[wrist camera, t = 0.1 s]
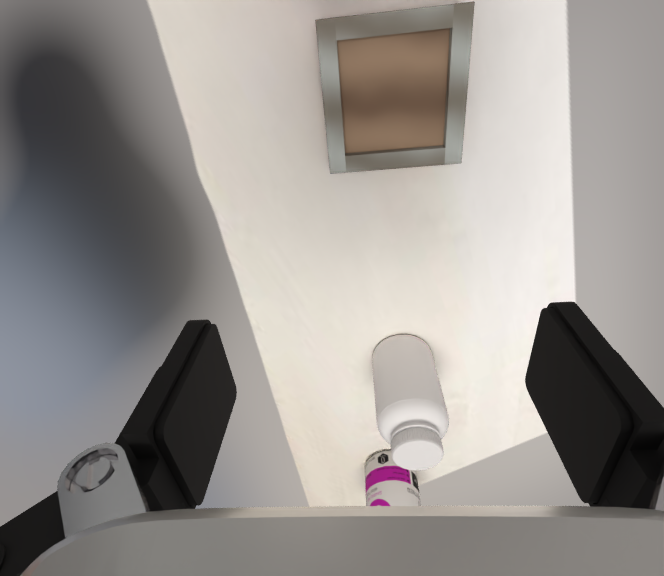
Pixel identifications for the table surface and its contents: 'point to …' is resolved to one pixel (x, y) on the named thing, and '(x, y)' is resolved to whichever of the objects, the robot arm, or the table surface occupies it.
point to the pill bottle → (409, 402)
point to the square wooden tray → (395, 87)
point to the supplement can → (390, 482)
